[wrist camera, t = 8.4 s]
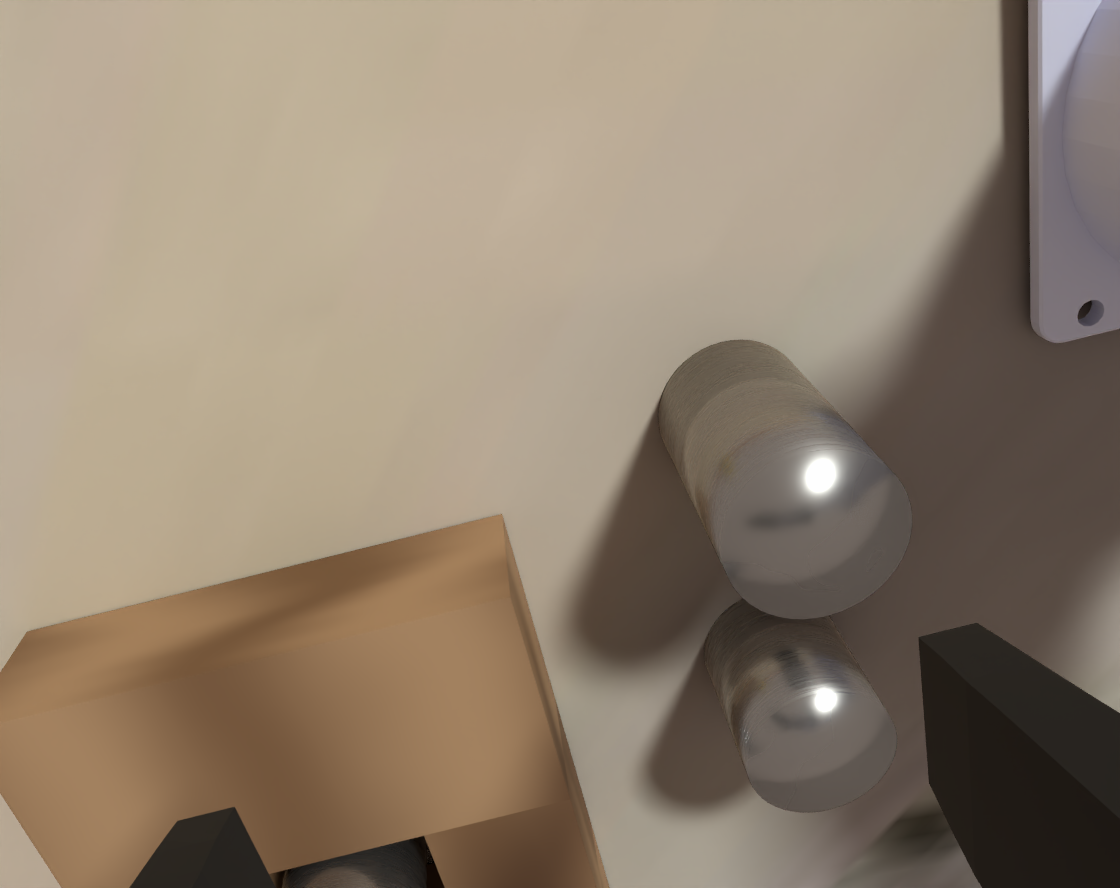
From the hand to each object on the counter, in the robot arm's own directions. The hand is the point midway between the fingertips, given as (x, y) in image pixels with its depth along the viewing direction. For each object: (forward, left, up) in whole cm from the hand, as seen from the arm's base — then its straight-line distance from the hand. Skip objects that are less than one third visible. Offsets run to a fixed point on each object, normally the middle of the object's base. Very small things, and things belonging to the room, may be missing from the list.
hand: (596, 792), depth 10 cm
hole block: (+6, +9, -10) cm, 15 cm away
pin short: (-4, +7, -10) cm, 13 cm away
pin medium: (-4, +1, -10) cm, 11 cm away
